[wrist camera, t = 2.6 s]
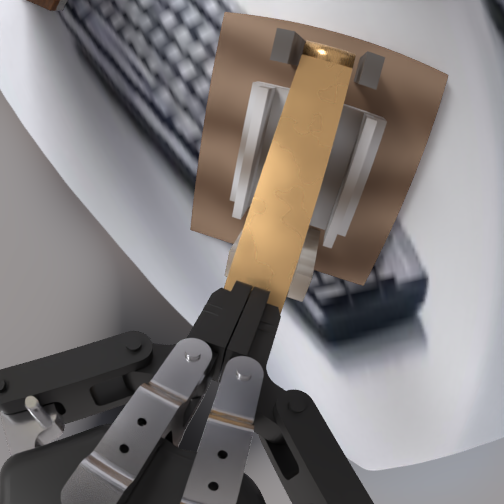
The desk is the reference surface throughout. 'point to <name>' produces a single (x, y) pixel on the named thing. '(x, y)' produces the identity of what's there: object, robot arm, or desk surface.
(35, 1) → the display case
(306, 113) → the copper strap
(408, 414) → the desk surface
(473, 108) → the desk surface
